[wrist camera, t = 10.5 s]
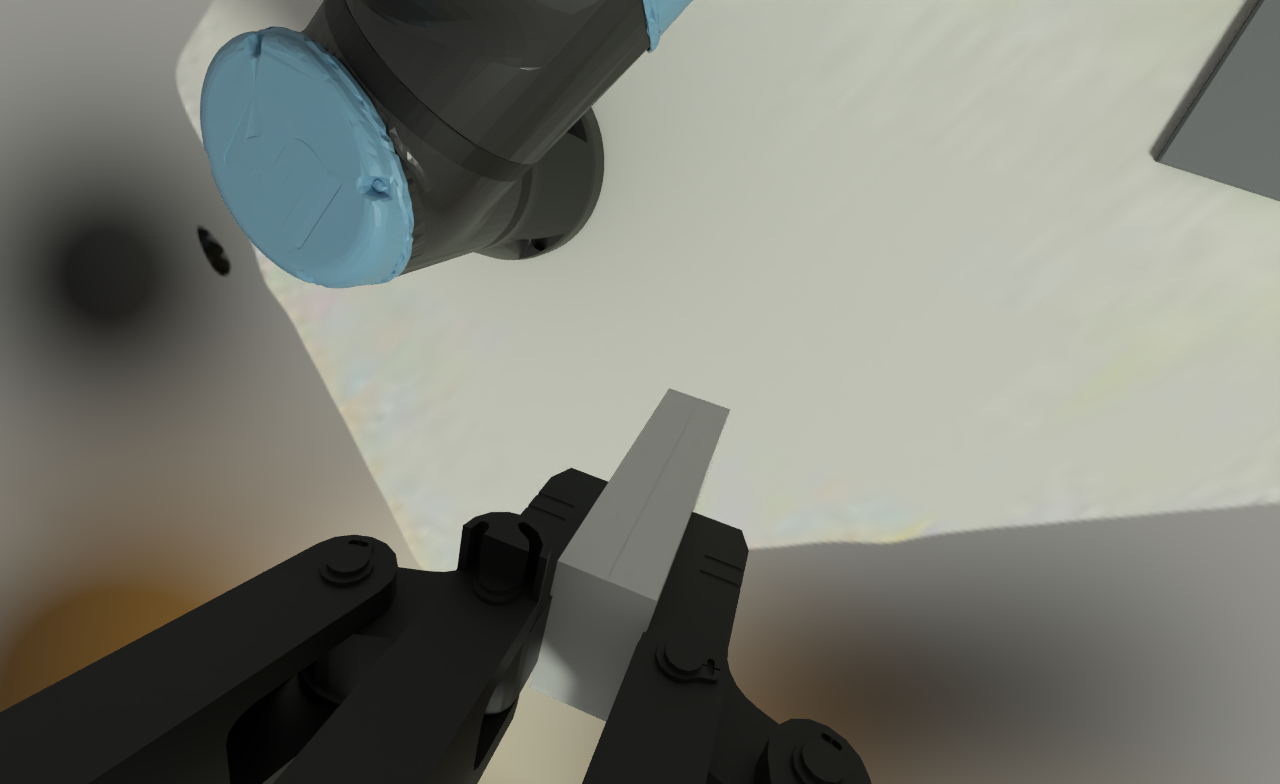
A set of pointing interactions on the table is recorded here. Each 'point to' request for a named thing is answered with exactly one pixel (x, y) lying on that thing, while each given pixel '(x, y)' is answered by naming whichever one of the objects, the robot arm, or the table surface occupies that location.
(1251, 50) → the mat
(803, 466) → the table surface
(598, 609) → the robot arm
